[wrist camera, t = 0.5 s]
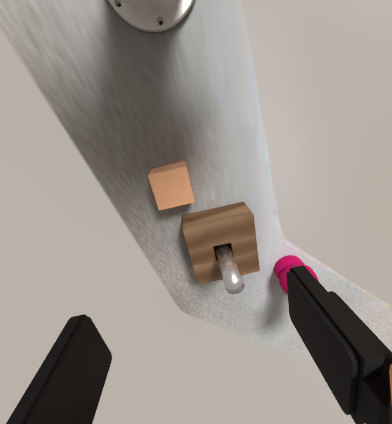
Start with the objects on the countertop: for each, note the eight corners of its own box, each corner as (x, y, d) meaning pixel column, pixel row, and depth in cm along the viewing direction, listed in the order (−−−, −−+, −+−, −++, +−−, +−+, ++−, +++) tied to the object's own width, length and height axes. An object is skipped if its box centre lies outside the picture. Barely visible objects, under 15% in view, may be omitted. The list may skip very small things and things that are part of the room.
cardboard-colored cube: (152, 168, 36) (147, 175, 31) (185, 160, 36) (186, 166, 31) (161, 199, 38) (158, 210, 34) (193, 192, 38) (194, 202, 33)
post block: (182, 215, 40) (182, 230, 34) (243, 201, 39) (253, 214, 34) (195, 264, 44) (197, 284, 39) (250, 252, 44) (259, 271, 39)
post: (214, 245, 36) (224, 282, 28) (229, 242, 36) (242, 278, 28) (217, 257, 37) (227, 295, 29) (231, 254, 37) (245, 291, 29)
